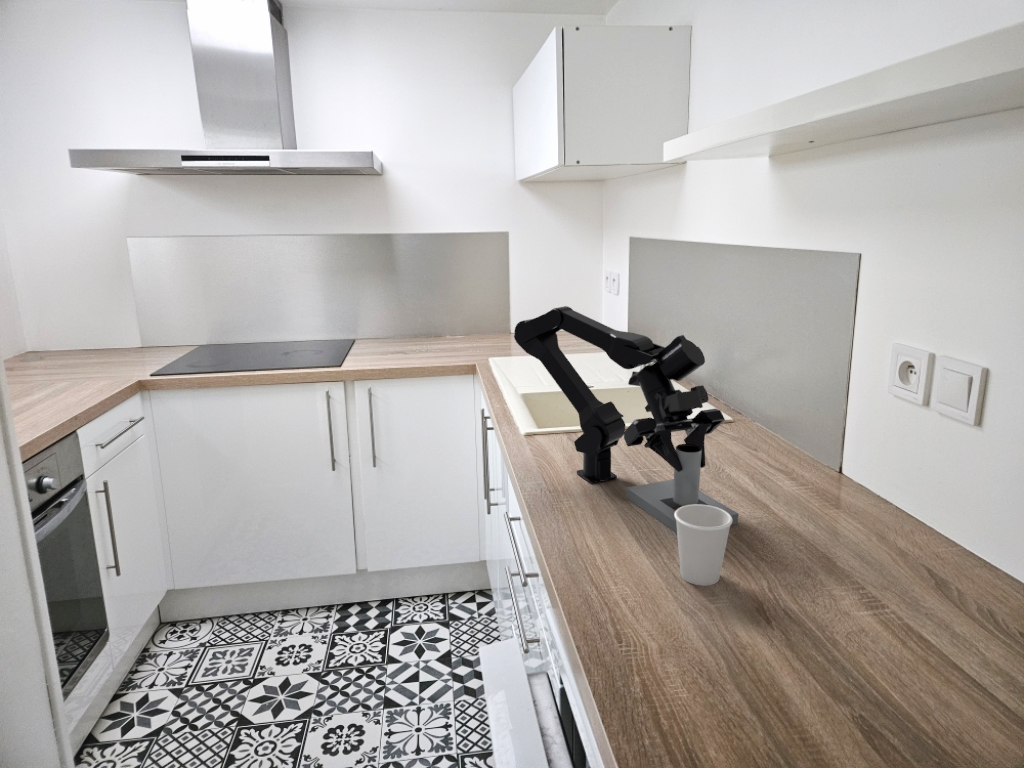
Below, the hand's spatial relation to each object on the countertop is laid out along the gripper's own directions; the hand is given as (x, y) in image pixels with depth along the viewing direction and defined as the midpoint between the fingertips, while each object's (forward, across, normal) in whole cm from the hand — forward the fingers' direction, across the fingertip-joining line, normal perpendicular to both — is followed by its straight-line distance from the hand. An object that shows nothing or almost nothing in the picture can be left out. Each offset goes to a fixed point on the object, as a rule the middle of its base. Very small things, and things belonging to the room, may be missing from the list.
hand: (692, 468), depth 122 cm
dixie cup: (+19, -11, -6) cm, 23 cm away
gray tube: (+4, 0, +6) cm, 7 cm away
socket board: (+4, 0, +9) cm, 10 cm away
